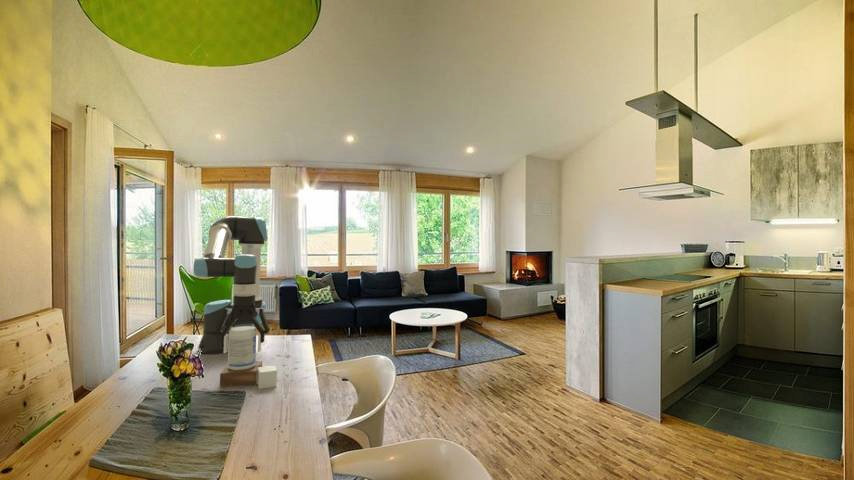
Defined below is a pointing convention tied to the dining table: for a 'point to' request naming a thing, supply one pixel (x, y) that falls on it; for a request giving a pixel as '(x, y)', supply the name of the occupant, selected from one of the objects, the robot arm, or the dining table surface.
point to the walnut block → (239, 376)
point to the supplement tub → (242, 348)
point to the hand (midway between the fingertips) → (242, 351)
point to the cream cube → (267, 376)
